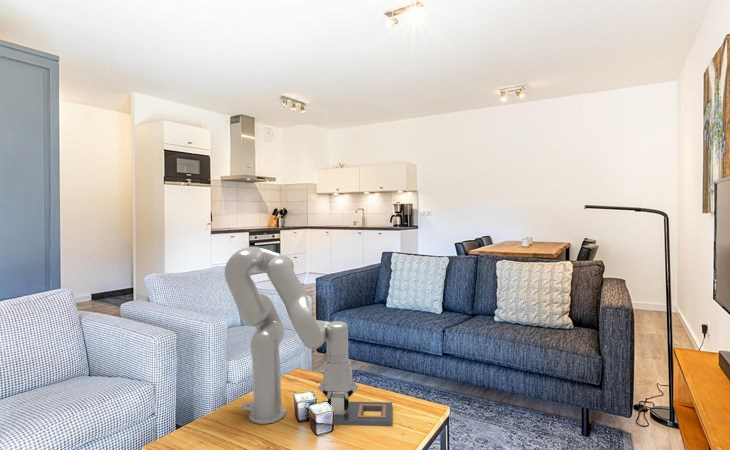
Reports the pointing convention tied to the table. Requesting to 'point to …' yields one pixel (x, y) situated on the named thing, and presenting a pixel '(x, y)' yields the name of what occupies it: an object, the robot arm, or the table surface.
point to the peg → (338, 402)
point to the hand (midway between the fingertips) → (338, 407)
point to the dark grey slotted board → (358, 418)
